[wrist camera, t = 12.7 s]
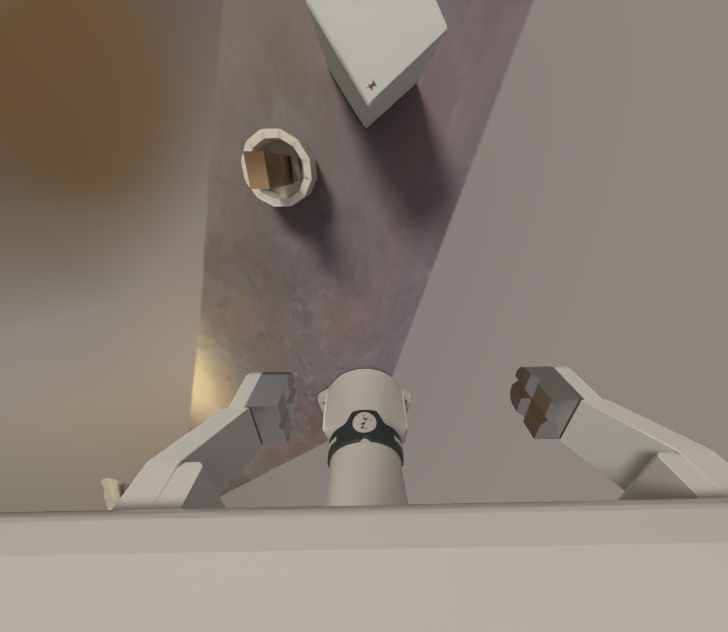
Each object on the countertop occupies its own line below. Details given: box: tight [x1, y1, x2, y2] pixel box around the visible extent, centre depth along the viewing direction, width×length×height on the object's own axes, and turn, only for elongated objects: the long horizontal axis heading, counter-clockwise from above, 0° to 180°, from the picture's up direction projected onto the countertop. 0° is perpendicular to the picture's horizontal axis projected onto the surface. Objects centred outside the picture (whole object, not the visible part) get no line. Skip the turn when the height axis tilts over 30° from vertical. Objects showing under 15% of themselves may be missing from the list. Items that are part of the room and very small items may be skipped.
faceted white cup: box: [241, 129, 317, 207], centre depth 31 cm, size 8×8×4 cm
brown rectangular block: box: [243, 151, 294, 189], centre depth 28 cm, size 3×2×10 cm, turn 0°
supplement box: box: [306, 0, 447, 129], centre depth 23 cm, size 7×7×13 cm
